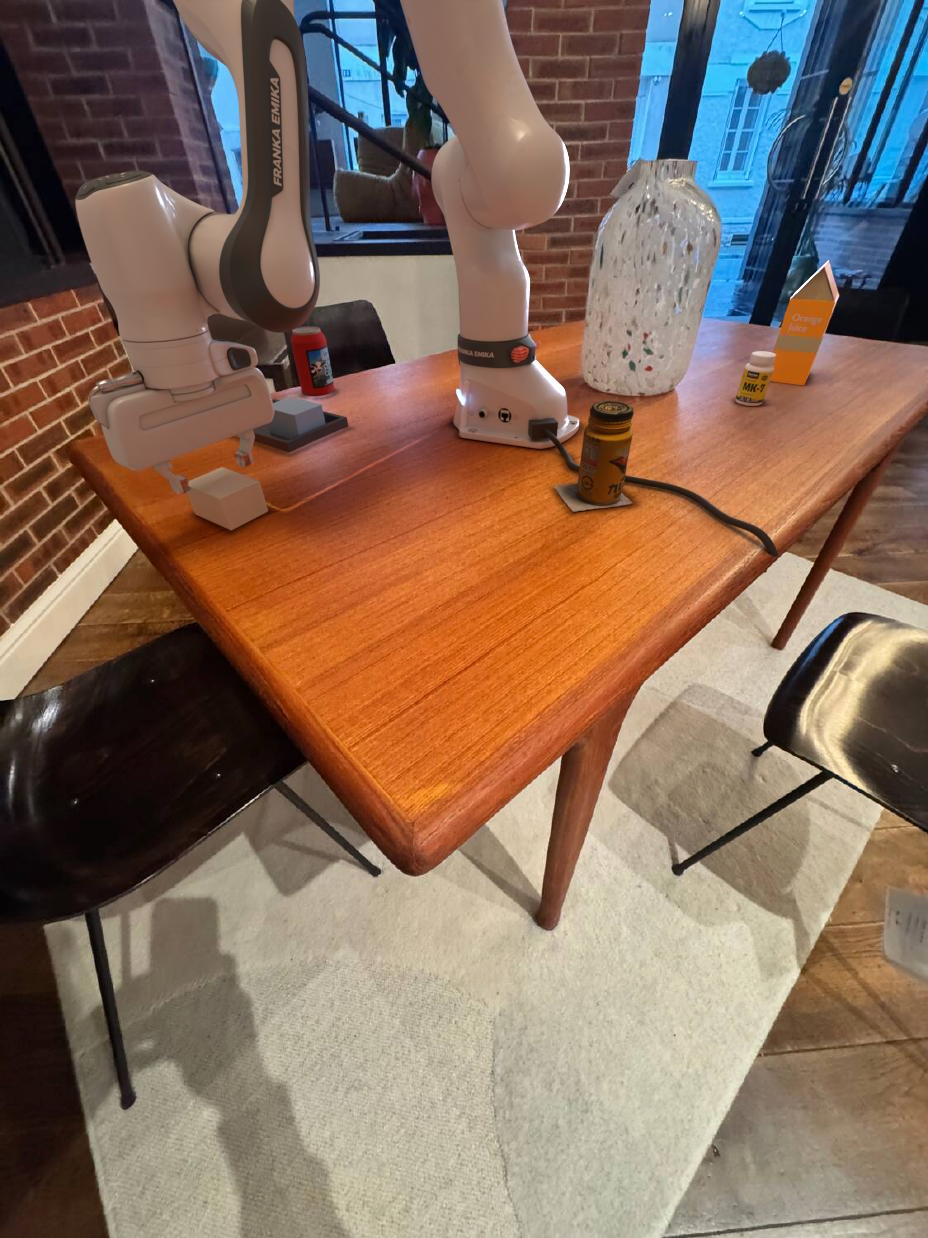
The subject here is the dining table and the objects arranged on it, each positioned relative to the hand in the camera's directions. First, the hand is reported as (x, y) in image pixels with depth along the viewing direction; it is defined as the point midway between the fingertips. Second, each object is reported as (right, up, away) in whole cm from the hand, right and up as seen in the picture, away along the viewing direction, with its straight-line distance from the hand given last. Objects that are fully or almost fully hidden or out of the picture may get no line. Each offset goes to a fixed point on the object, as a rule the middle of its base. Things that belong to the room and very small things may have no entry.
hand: (215, 477), depth 67 cm
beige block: (+1, -4, +3) cm, 5 cm away
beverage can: (+2, +29, +42) cm, 51 cm away
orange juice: (+100, +32, +42) cm, 113 cm away
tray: (0, +16, +26) cm, 31 cm away
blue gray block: (+3, +14, +24) cm, 28 cm away
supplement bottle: (+86, +22, +31) cm, 94 cm away
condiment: (+50, -2, +4) cm, 50 cm away
